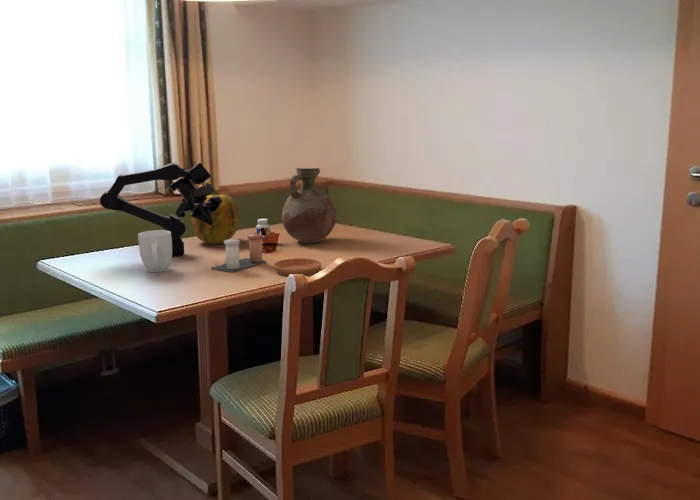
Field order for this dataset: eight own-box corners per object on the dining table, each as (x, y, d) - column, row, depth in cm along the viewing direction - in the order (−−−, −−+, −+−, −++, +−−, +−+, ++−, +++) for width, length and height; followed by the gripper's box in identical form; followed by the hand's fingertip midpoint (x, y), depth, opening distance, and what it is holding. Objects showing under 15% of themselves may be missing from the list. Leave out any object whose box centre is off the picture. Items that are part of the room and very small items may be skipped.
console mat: (211, 269, 254) (211, 267, 254) (245, 259, 267) (245, 257, 267) (232, 272, 248) (231, 270, 248) (266, 262, 261) (266, 261, 261)
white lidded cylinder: (222, 268, 251) (220, 241, 249) (233, 265, 255) (231, 238, 253) (233, 270, 248) (231, 242, 246) (244, 266, 252) (242, 240, 250)
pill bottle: (268, 244, 292) (267, 220, 289) (255, 244, 293) (253, 220, 291) (272, 242, 297) (271, 218, 295) (259, 241, 298) (258, 218, 296)
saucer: (326, 267, 254) (326, 258, 254) (314, 278, 239) (313, 269, 238) (282, 265, 258) (282, 257, 257) (267, 276, 243) (267, 268, 242)
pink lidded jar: (245, 261, 260) (244, 235, 258) (256, 258, 264) (254, 233, 262) (256, 263, 257) (255, 236, 255) (266, 260, 261) (265, 234, 259)
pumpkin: (205, 237, 309) (202, 178, 304) (248, 238, 304) (244, 178, 299) (184, 246, 292) (180, 183, 287) (228, 248, 287) (225, 184, 281)
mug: (173, 275, 246) (171, 237, 243) (139, 277, 244) (136, 239, 241) (174, 265, 260) (171, 229, 258) (141, 267, 258) (138, 231, 255)
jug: (347, 239, 298) (345, 165, 292) (316, 250, 280) (314, 171, 274) (303, 235, 310) (301, 163, 303) (271, 244, 292) (268, 169, 285)
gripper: (178, 180, 260) (202, 213, 256) (217, 174, 275) (240, 206, 271) (165, 201, 266) (188, 233, 262) (203, 194, 281) (226, 225, 277)
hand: (211, 224), depth 268 cm, fingers closed
